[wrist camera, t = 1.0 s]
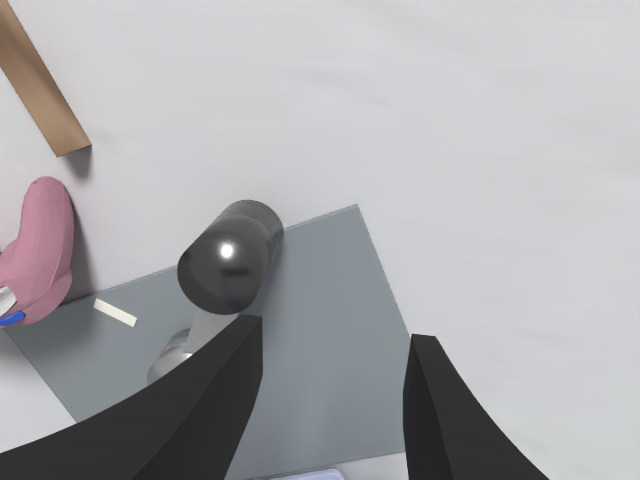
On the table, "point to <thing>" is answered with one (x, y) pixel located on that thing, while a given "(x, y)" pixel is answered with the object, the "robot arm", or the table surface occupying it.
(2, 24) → the bay
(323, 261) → the plate
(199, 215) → the table surface
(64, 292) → the video game controller
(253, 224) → the crank
